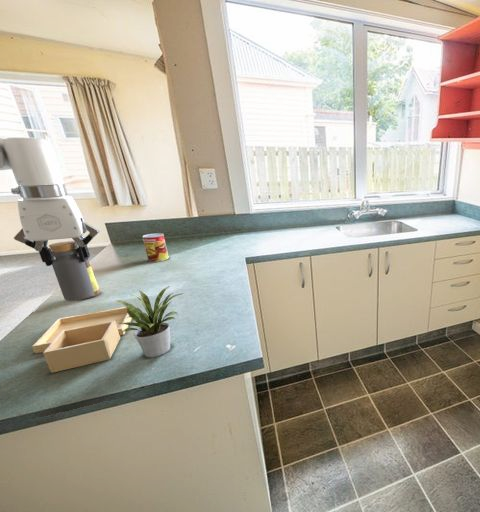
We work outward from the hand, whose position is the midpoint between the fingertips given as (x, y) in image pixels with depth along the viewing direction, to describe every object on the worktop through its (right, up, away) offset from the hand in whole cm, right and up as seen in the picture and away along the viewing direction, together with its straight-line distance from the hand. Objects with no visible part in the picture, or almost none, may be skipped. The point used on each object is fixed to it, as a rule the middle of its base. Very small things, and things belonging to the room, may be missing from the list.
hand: (68, 261), depth 77 cm
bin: (+9, -23, -4) cm, 25 cm away
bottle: (0, -10, +3) cm, 10 cm away
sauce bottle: (-21, -13, +27) cm, 37 cm away
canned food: (-26, 0, +65) cm, 70 cm away
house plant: (+26, -22, -1) cm, 35 cm away
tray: (0, -19, +6) cm, 21 cm away
